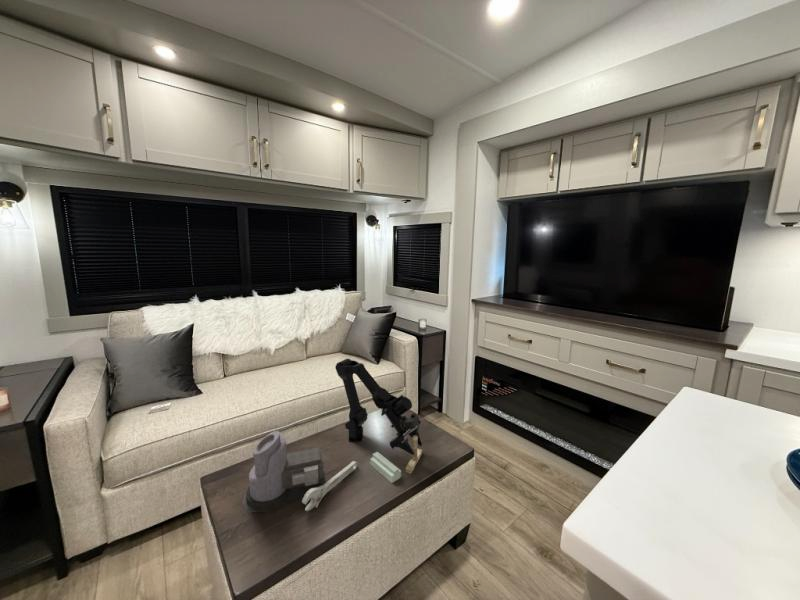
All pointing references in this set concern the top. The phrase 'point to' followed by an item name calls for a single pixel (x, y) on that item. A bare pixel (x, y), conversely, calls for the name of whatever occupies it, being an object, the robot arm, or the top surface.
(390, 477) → the ridge
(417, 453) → the rubber stamp
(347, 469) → the wrench
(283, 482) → the juicer
